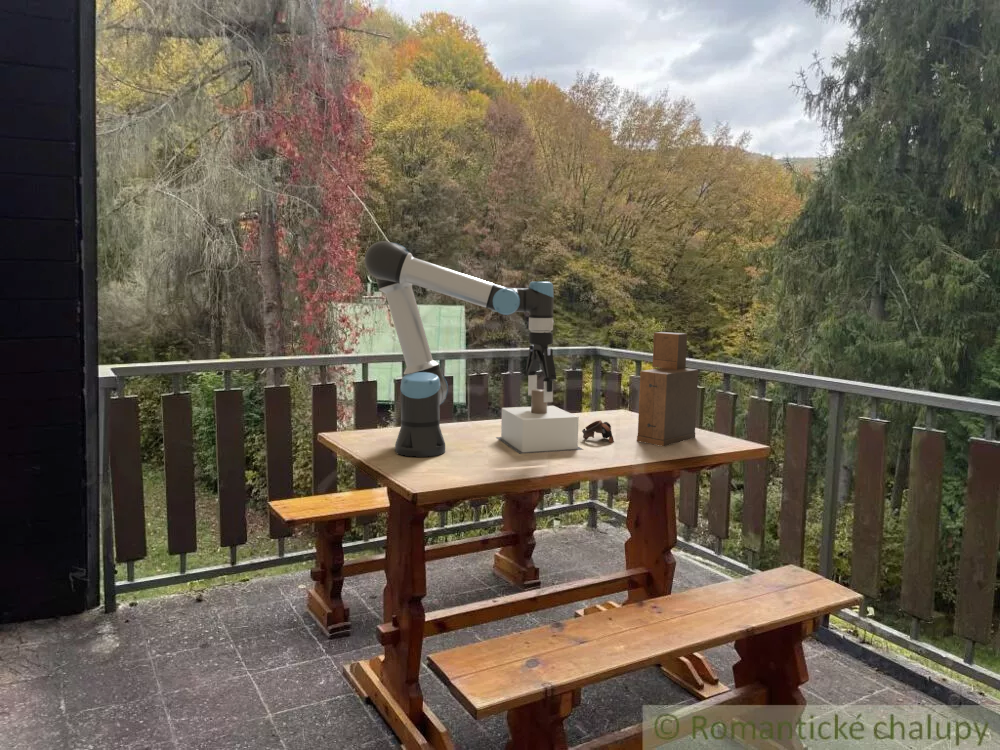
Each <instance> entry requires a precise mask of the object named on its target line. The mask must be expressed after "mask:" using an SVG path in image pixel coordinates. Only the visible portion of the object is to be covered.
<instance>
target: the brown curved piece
mask: <svg viewBox="0 0 1000 750" xmlns="http://www.w3.org/2000/svg"><path fill="white" fill-rule="evenodd" d="M581 432H582V433H583V435H582V436H583V440H588V439H589V438H595V433H597V434H601V436H602V438H603V439H607V440H608V442H609V444H612V443H613V444H614V443H615V439H614V436H613V433H612V426H611V424H610V423H609V422H608V421H602V420H596V421H593V422H591V423H589V424H588V425H586V426H585V427H584V428H583V429H582V431H581Z"/></svg>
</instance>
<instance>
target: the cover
mask: <svg viewBox="0 0 1000 750" xmlns="http://www.w3.org/2000/svg"><path fill="white" fill-rule="evenodd" d="M530 396H531V403H530V406H515V407H501V421H500V422H501V425H500V427H501V431H500V433H501V436H500V437H501V438H502V439H503V440H505V441H506V442H508V443H509V444H511V445H512V446H514V447H515V448H517V449H518V450H520V451H521V452H535V451H550V450H566V449H578V447H579V416H577V415H575V414H573V413H571V412H569V411H567V410H564V409H562V408H559V407H558V406H555V405H548V402H544V388H543V389H541V388H540V389H539V388H537V389H534V390H532V395H530Z"/></svg>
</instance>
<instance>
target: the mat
mask: <svg viewBox="0 0 1000 750" xmlns="http://www.w3.org/2000/svg"><path fill="white" fill-rule="evenodd" d="M495 438H496V439H497V440H499V441H500V442H502V443H503V444H505V445H506V446H508V447H509V448H511V449H512V450H514V451H515V452H516V453H518V454H520V455H523V454H536V453H537V454H538V453H552V452H555V453H556V452H566V451H567V452H569V451H581V450H583V451H584V448H582V447H580V446H578V449H566V450H550V451H535V452H521V451H520V450H518V449H517V448H515V447H514V446H512V445H511V444H509V443H508V442H506V441H505V440H503V439H502V438H501V436H496V437H495Z"/></svg>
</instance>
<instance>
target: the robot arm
mask: <svg viewBox="0 0 1000 750" xmlns="http://www.w3.org/2000/svg"><path fill="white" fill-rule="evenodd" d="M363 259H364V266H365V269H366V270H367V272H368V273H369V274H370V275H371V276H372V277H373V278H375V280H376V284H377V287H378V290H379V291H380V292H382V293H383V294H384V295H385V297H386V300H387V304H388V307H389V310H390V314H391V318H392V321H393V324H394V329H395V331H396V335H397V339H398V341H399V346H400V348H401V352H402V355H403V359H404V362H405V365H406V368H405V370H404V372H403V375H404V376H403V377H402V378H401V380H400V387H399V388H400V428H399V432H398V435H397V438H396V442H395V444H394V445H395V446H394V449H395V450H394V452H395V454H397V453H398V455H399V454H401V455H400V456H403V455H405V456H404V457H409V456H416V457H415V458H425V457H426V458H427V457H428V456H429V457H436V456H439V455H442V453H443V454H444V453H445V452H446V442H445V440H444V436H443V433H442V429H441V426H440V413H441V412H440V411H441V407H440V406H441V405H442V404H443V403H445V401H446V399H447V396H448V392H449V386H448V381H447V380H446V378H445V376H444V374H442V369H441V366H440V363H439V362H438V361H436V360H434V359H433V356H432V352H431V349H430V345H429V342H428V338H427V335H426V331H425V328H424V324H423V321H422V317H421V314H420V311H419V308H418V304H417V301H416V297H415V292H414V290H413V285H414V286H417V287H421V288H423V289H426V290H430V291H433V292H436V293H439V294H441V295H444V296H445V295H446V296H449V297H452V298H454V299H458V300H461V301H464V302H467V303H470V304H473V305H476V306H479V307H482V308H486V309H488V310H491V311H492V312H495V313H499V314H500V315H504V316H508V315H512V314H514V313H528V330H529V332H528V343H529V349H528V355H527V361H526V367H525V373H527V375H528V378H527V379H528V380H527V381H528V382H527V383H528V384H527V389H528V390H527V396H532V390H534V389H538V372H537V371H538V368H539V366H541V369H542V373H543V376H544V379H543V380H542V382H543V390H544V402H547V403H553V402H554V399H553V398H554V396H553V395H554V381H555V380H557V373H556V367H555V361H554V355H553V354H554V353H553V352H554V349H553V348H549V345H552V344H553V343H554V332H553V330H554V323H555V321H554V301H555V298H554V284H553V283H552V282H550V281H530V282H529V285H528V287H507V286H503V285H500V284H495V283H493V282H491V281H488V280H487V281H486V280H484V279H481V278H478V277H475V276H472V275H468V274H465V273H462V272H459V271H456V270H453V269H450V268H448V267H444V266H441V265H438V264H435V263H431V262H429V261H427V260H426V261H425V260H423V259H420V258H416V257H414V256H413V254H412V253H411V252H410V251H408V250H407V248H406V247H405V246H403V245H401V244H400V243H398V242H390V241H387V240H381V241H377V242H374V243H373V244H371V245H370V246H369V247H368V248H367V250H366V251H365V254H364V258H363Z"/></svg>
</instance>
